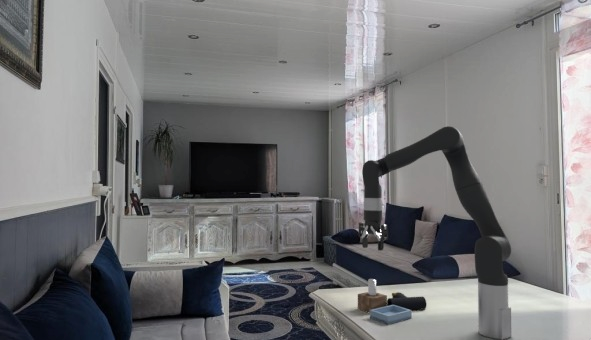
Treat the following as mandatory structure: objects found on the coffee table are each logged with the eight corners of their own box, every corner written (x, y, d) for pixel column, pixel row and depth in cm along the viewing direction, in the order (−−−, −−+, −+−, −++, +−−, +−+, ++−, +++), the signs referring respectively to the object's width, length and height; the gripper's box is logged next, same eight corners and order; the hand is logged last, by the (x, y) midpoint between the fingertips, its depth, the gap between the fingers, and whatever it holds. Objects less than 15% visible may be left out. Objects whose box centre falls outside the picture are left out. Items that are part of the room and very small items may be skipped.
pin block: (386, 310, 162) (386, 295, 162) (372, 314, 157) (372, 298, 157) (371, 305, 168) (371, 291, 169) (357, 308, 164) (357, 293, 164)
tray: (411, 318, 152) (411, 310, 152) (388, 324, 145) (388, 316, 145) (393, 312, 160) (393, 304, 160) (370, 318, 152) (370, 310, 152)
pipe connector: (380, 292, 171) (412, 290, 175) (380, 304, 171) (411, 302, 174) (392, 299, 160) (426, 298, 163) (392, 313, 160) (426, 311, 163)
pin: (377, 310, 162) (377, 280, 163) (372, 311, 160) (372, 281, 161) (372, 308, 165) (372, 278, 165) (366, 309, 163) (366, 279, 164)
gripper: (392, 209, 161) (392, 250, 160) (367, 208, 173) (366, 246, 172) (379, 210, 157) (379, 252, 156) (354, 208, 168) (353, 247, 168)
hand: (372, 249), depth 164 cm, fingers open, 8 cm apart
